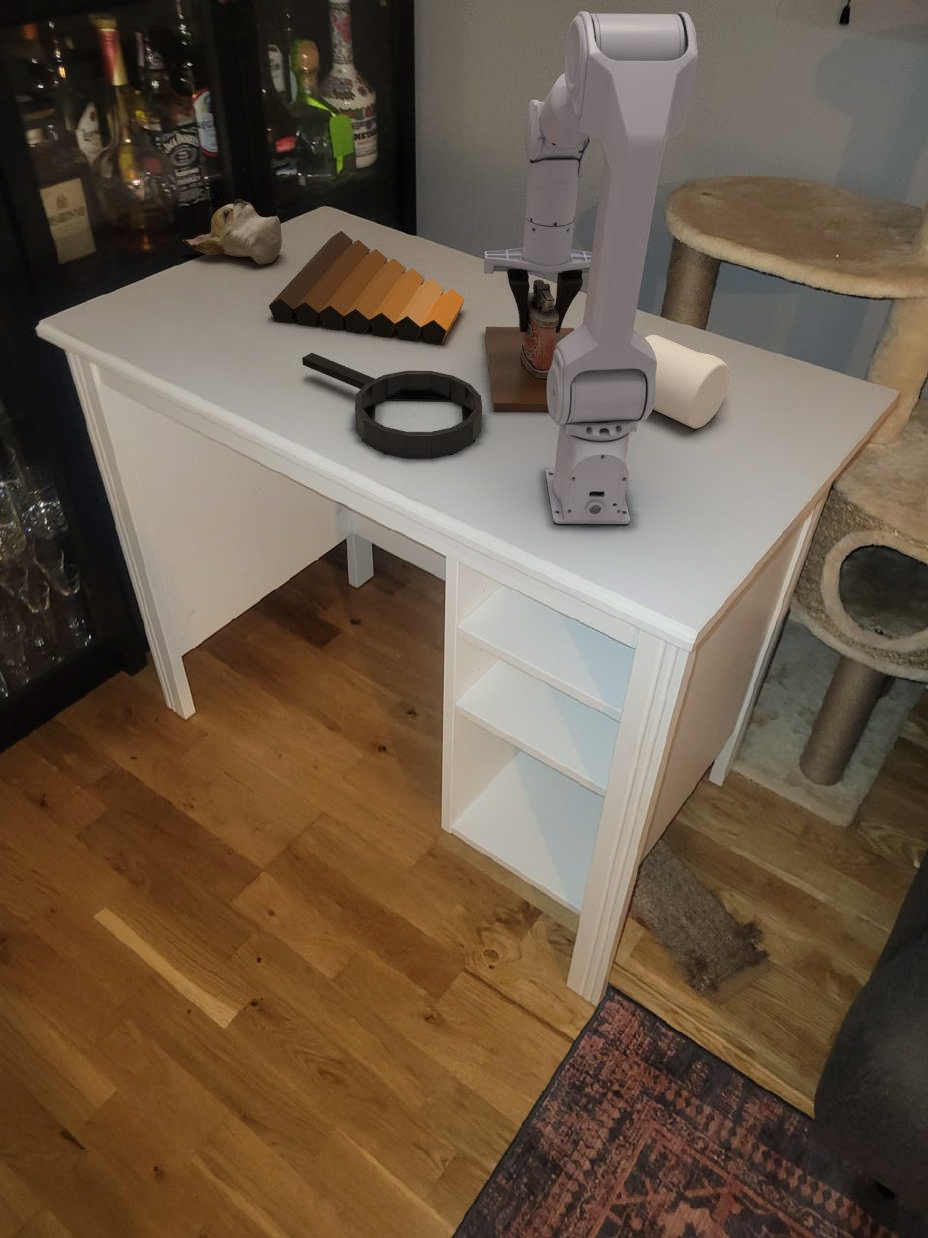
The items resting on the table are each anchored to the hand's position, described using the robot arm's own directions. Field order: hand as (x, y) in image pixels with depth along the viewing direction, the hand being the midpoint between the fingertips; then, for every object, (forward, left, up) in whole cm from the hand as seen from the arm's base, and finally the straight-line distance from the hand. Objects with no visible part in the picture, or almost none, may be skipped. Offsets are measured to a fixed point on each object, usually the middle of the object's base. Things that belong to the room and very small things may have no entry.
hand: (539, 328), depth 118 cm
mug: (-8, -17, -6) cm, 20 cm away
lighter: (0, 0, -5) cm, 5 cm away
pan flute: (+22, +20, -6) cm, 30 cm away
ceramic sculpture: (+35, +42, -6) cm, 55 cm away
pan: (-11, +19, -6) cm, 22 cm away
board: (0, 0, -6) cm, 6 cm away
